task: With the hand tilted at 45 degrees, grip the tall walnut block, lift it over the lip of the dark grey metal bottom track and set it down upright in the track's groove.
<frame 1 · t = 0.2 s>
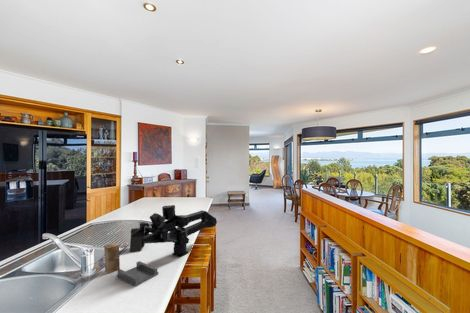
hand: (137, 238, 109), 17 cm above the table, tool horizontal, fingers open, 9 cm apart
bottom track: (137, 276, 107), on the table
walnut block: (112, 270, 113), on the table
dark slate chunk: (160, 239, 155), on the table
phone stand: (137, 249, 139), on the table
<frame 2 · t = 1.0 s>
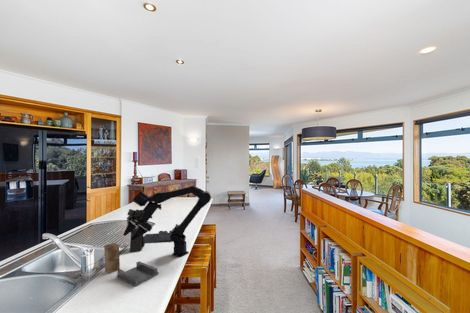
hand: (127, 237, 119), 14 cm above the table, tool tilted 45°, fingers open, 9 cm apart
nothing on the table moved.
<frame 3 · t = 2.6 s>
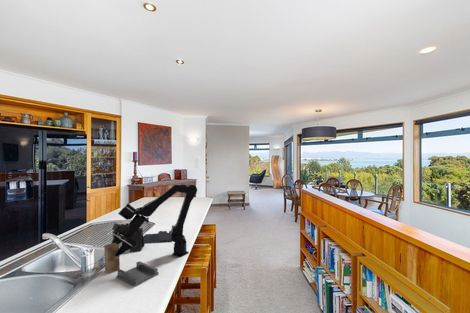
hand: (112, 253, 114), 8 cm above the table, tool tilted 45°, fingers open, 9 cm apart
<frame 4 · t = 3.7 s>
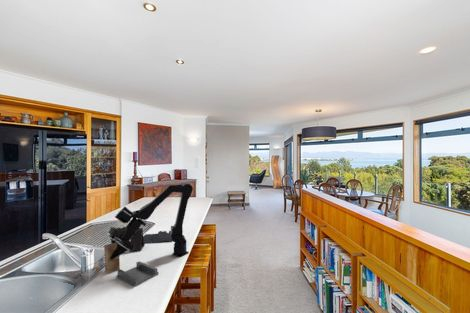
hand: (108, 257, 112), 7 cm above the table, tool tilted 45°, fingers closed on walnut block, 5 cm apart
walnut block: (112, 269, 113), on the table, touching gripper
everything else where it was.
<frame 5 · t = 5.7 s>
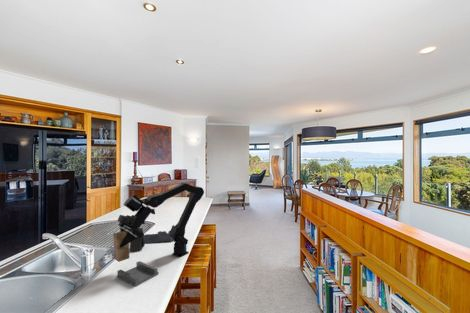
hand: (118, 245, 110), 13 cm above the table, tool tilted 45°, fingers closed on walnut block, 5 cm apart
walnut block: (122, 258, 111), point 6 cm above the table, touching gripper
when the fingers open (9 cm above the table, at t = 7.9 s): walnut block drops 1 cm, resting on bottom track.
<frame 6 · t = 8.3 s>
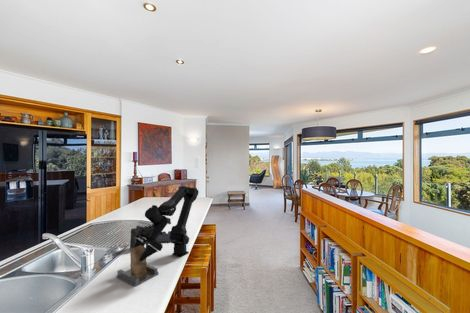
hand: (135, 257, 105), 9 cm above the table, tool tilted 45°, fingers open, 9 cm apart
walnut block: (138, 274, 107), point 1 cm above the table, touching bottom track
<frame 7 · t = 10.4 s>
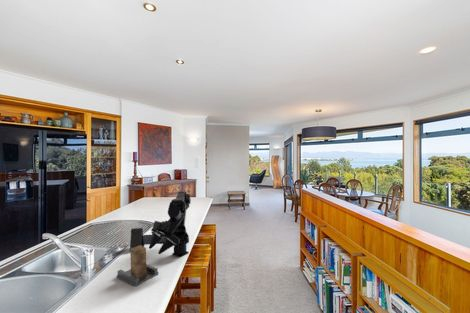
hand: (154, 251, 112), 9 cm above the table, tool tilted 45°, fingers open, 9 cm apart
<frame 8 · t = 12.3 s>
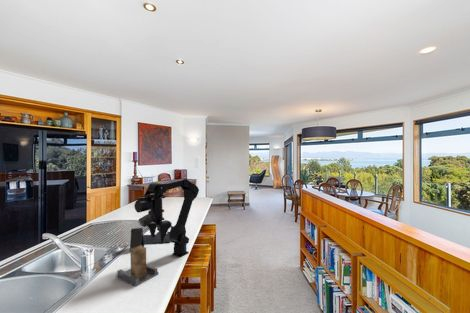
hand: (157, 239, 117), 13 cm above the table, tool pointing down, fingers open, 9 cm apart
at the end: walnut block inside the target area on the bottom track (1.0 cm from its centre), point 1.0 cm above the bottom track's base; walnut block tilted 0°; the gripper is holding nothing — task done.
